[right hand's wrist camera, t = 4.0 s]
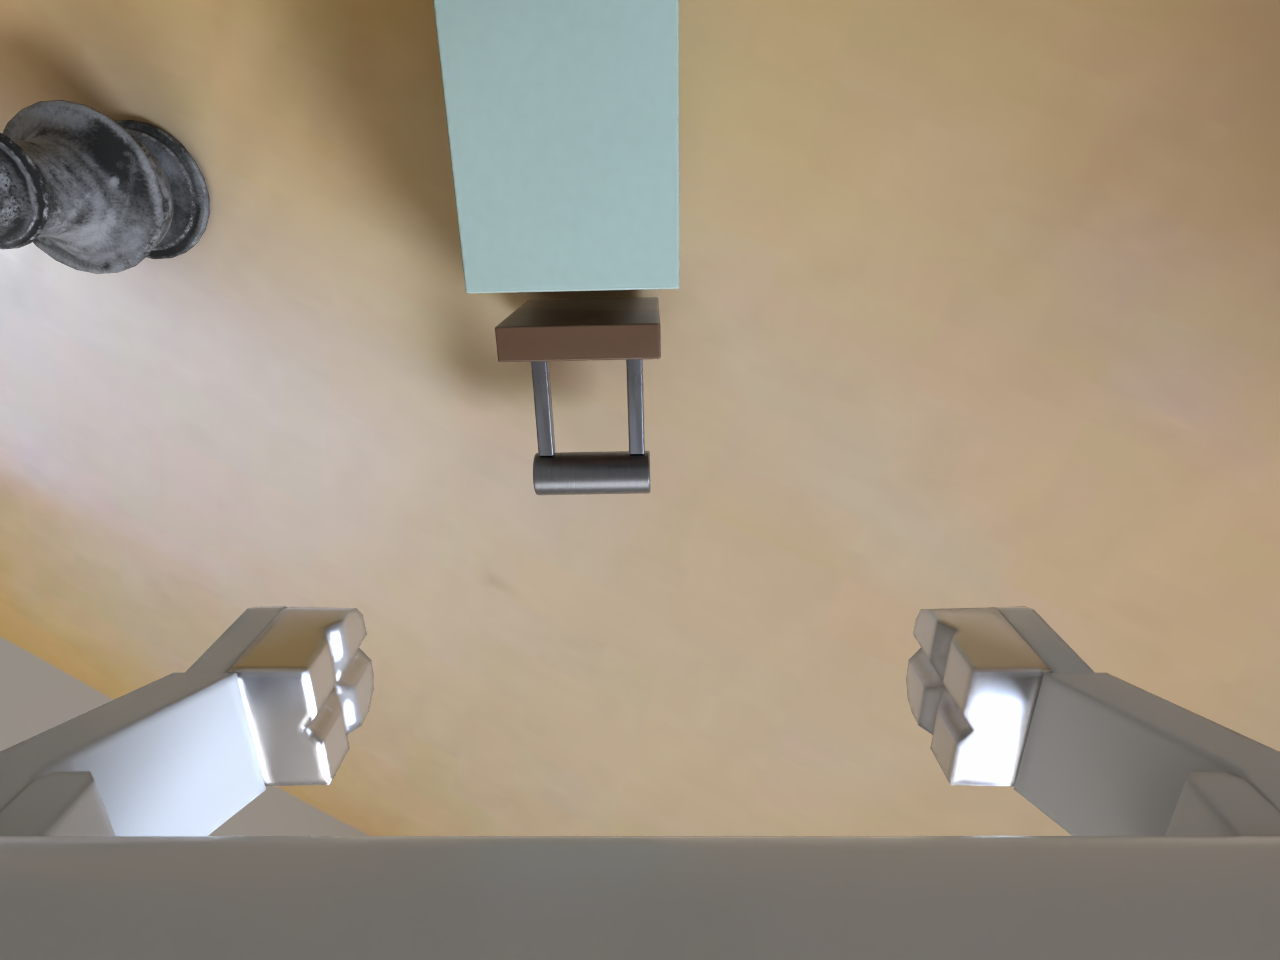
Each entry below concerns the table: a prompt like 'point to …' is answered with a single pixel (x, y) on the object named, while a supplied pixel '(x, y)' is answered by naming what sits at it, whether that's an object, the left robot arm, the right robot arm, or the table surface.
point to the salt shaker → (97, 188)
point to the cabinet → (563, 142)
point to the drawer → (575, 337)
